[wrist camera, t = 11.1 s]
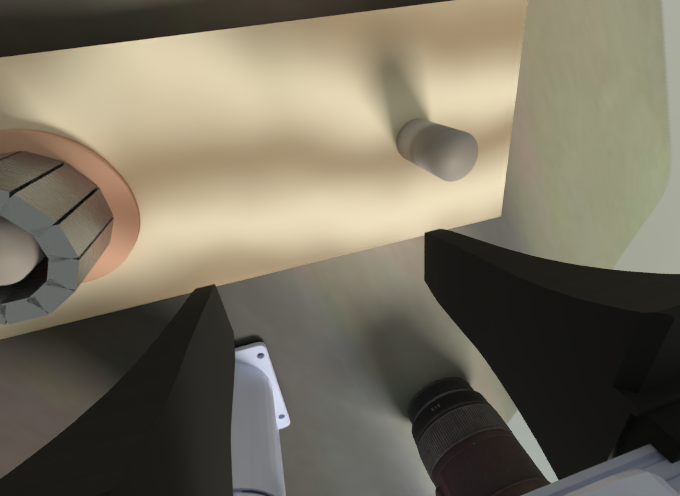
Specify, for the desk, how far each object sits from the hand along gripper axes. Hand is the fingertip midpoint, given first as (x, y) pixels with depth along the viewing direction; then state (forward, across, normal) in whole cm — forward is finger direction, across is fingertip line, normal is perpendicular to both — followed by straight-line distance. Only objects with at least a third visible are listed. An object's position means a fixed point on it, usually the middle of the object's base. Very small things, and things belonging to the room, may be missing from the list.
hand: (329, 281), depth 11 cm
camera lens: (+10, -10, +24) cm, 28 cm away
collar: (+7, +11, -2) cm, 13 cm away
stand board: (+9, +2, -2) cm, 10 cm away
